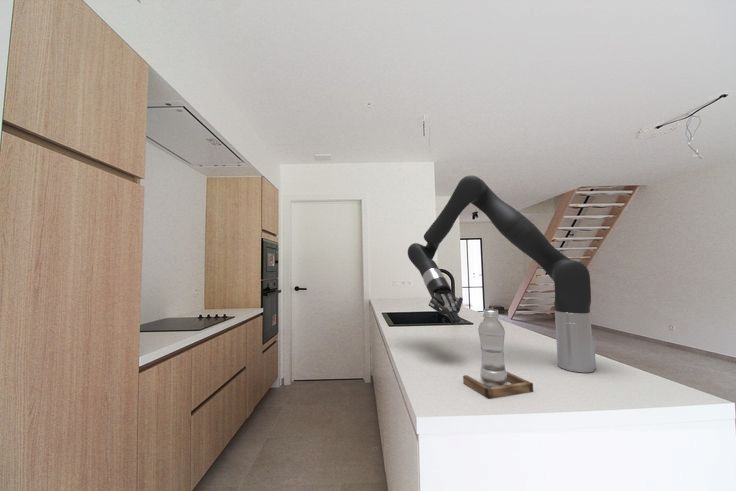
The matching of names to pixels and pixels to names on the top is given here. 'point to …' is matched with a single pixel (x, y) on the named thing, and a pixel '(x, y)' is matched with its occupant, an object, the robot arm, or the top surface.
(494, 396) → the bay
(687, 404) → the top surface
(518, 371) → the top surface
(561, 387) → the top surface
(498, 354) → the plastic bottle
